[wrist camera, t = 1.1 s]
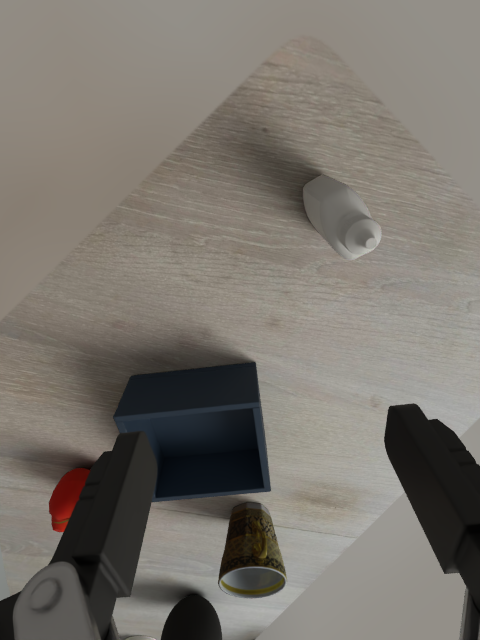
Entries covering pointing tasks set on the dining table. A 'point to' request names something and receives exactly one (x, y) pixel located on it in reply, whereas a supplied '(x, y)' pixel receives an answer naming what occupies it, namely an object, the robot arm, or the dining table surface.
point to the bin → (200, 430)
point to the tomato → (66, 497)
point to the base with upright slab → (140, 638)
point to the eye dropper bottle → (340, 217)
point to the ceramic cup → (251, 555)
